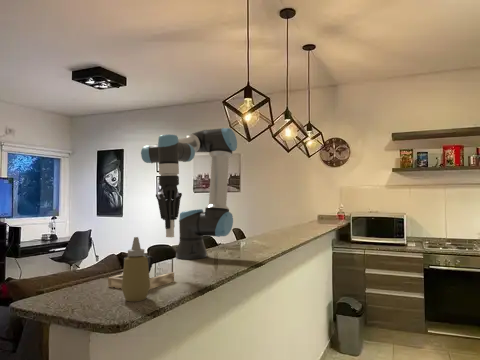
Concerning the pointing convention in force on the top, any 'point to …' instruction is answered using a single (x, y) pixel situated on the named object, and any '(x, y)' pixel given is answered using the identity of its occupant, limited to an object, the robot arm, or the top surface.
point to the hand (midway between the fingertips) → (170, 236)
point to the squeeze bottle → (135, 274)
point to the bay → (154, 282)
